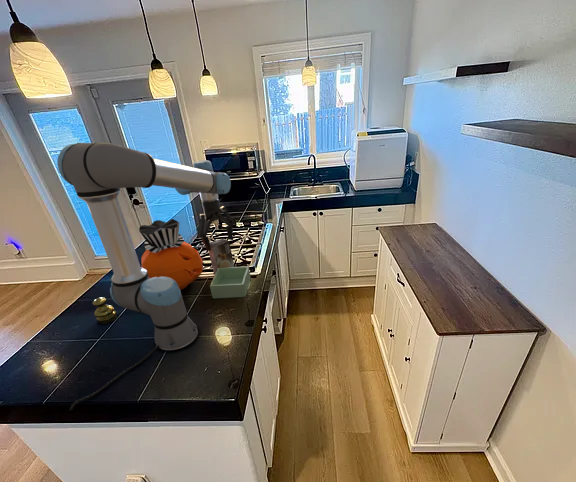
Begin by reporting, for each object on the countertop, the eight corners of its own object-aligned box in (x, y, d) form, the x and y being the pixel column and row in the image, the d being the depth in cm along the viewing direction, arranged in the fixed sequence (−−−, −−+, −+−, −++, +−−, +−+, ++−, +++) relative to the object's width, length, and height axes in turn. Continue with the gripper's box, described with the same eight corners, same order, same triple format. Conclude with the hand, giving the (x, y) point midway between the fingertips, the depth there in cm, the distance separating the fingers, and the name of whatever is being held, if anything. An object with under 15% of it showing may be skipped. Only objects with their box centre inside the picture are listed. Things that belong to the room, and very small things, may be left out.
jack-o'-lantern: (211, 290, 143) (195, 226, 126) (151, 305, 136) (125, 241, 119) (202, 266, 164) (187, 209, 148) (149, 278, 157) (127, 220, 141)
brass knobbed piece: (121, 314, 132) (112, 294, 127) (108, 325, 126) (98, 304, 121) (107, 312, 134) (97, 293, 129) (94, 323, 128) (83, 303, 123)
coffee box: (229, 267, 161) (223, 237, 152) (235, 271, 157) (229, 241, 148) (213, 273, 157) (206, 243, 148) (219, 277, 152) (212, 247, 143)
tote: (245, 296, 136) (243, 284, 133) (212, 298, 137) (209, 286, 134) (250, 278, 150) (248, 266, 146) (220, 279, 151) (218, 268, 147)
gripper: (191, 209, 127) (203, 256, 139) (237, 192, 142) (244, 237, 154) (180, 206, 131) (193, 252, 143) (226, 191, 146) (234, 234, 158)
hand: (220, 244), depth 149 cm, fingers open, 13 cm apart
